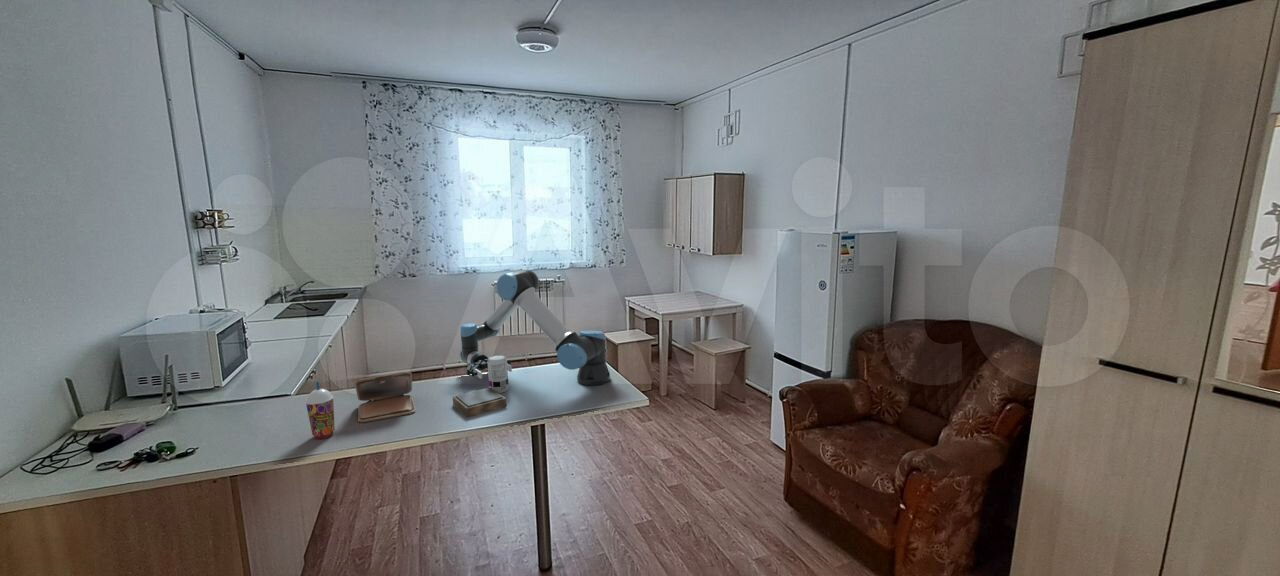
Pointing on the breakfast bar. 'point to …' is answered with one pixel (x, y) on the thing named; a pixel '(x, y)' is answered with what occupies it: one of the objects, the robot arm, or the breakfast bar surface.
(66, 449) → the breakfast bar surface
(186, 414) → the breakfast bar surface
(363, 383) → the case
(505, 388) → the supplement can
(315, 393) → the smoothie
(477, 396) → the podium
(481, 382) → the breakfast bar surface
